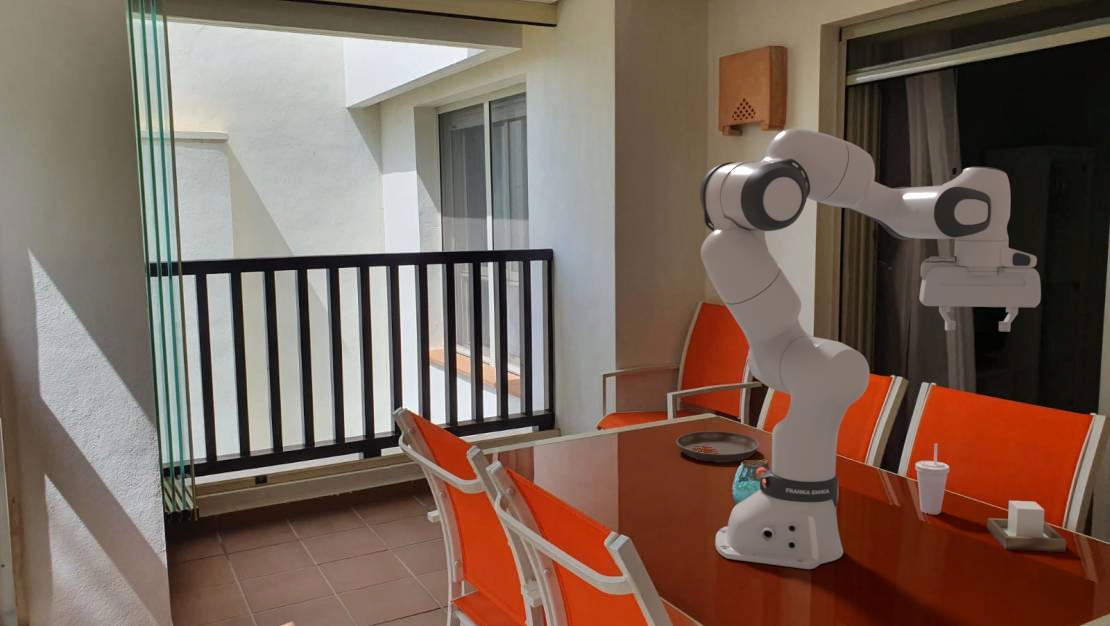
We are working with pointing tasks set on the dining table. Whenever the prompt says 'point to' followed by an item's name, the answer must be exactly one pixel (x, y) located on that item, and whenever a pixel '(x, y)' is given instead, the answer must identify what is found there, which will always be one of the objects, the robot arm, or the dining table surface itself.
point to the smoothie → (931, 484)
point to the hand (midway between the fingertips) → (977, 330)
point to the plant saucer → (718, 445)
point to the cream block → (1025, 519)
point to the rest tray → (1026, 538)
